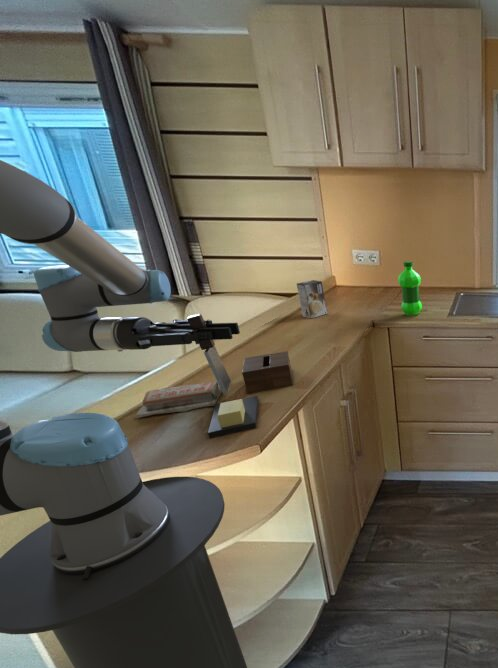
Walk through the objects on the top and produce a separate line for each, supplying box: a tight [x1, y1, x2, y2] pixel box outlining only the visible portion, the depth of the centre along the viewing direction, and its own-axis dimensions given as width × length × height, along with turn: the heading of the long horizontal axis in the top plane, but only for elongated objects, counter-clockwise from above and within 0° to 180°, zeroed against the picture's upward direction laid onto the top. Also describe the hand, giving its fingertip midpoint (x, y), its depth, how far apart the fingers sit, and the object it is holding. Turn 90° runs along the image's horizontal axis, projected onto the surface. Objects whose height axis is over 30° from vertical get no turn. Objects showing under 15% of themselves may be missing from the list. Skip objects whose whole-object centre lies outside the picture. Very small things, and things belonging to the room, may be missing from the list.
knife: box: [186, 313, 232, 395], centre depth 97 cm, size 8×2×19 cm, turn 26°
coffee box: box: [296, 279, 328, 319], centre depth 190 cm, size 9×6×16 cm
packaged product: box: [134, 380, 223, 419], centre depth 113 cm, size 18×5×10 cm
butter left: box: [217, 400, 232, 428], centre depth 103 cm, size 7×2×4 cm, turn 27°
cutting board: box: [207, 395, 259, 439], centre depth 107 cm, size 16×10×2 cm, turn 27°
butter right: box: [229, 398, 245, 425], centre depth 104 cm, size 7×2×4 cm, turn 27°
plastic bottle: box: [397, 260, 423, 317], centre depth 191 cm, size 10×10×25 cm
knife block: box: [241, 351, 294, 394], centre depth 126 cm, size 12×12×7 cm
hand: (234, 330), depth 96 cm, fingers closed on knife, 3 cm apart
